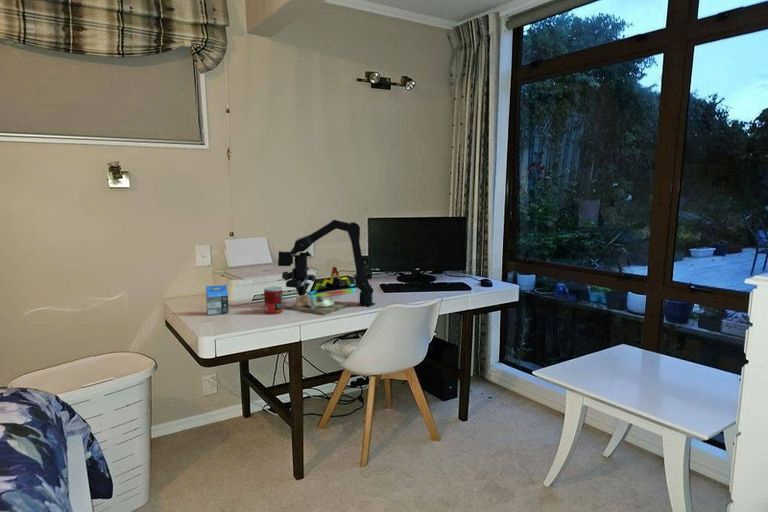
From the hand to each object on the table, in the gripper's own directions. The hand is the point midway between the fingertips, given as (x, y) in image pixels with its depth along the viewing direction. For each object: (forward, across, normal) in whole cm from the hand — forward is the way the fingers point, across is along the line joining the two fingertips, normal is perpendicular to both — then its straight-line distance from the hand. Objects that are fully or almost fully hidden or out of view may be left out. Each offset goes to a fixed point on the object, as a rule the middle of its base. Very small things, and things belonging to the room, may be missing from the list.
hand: (301, 298), depth 224 cm
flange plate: (+2, -1, +7) cm, 7 cm away
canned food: (+4, +12, -7) cm, 15 cm away
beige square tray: (+4, -2, +9) cm, 10 cm away
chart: (+4, -27, +3) cm, 27 cm away
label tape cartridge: (+4, +22, -29) cm, 37 cm away
